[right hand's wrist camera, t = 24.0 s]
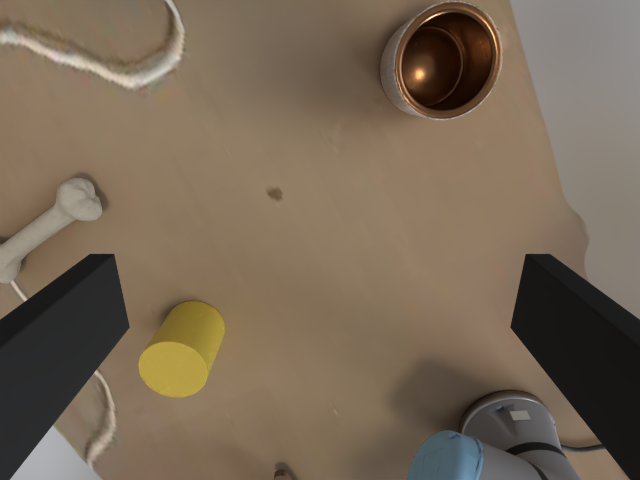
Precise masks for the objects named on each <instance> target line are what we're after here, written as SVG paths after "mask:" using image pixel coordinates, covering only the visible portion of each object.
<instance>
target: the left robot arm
mask: <svg viewBox="0 0 640 480" xmlns="http://www.w3.org/2000/svg"><path fill="white" fill-rule="evenodd" d="M602 449H606V448H605V447H604V446H603V444H601V445H596V446H590V447H583V448H573V447H568V446H564V445H560V442H559V439H558V436H557V433H556V427H555V423H554V419H553V416H552V415H551V413H550V412H549V410H548V409H547V407H546V406H545V405H544V403H543V402H542V401H541V400H540V399H538V398H537V397H535V396H534V395H532V394H529V393H526V392H522V391H501V392H496V393H493V394H490V395H487V396H485V397H483V398H481V399H480V400H478V401H477V402H475V403H474V404H473V405H472V406H470V407H469V409H468V410H467V411H466V412H465V414H464V415H463V417H462V419H461V422H460V426H459V433H458V432H455V431H451V430H443V431H439V432H437V433H435V434H433V435H432V436H430V437H429V438H428V439H427V440H426V441H425V442H424V443H423V444H422V445H421V447H420V448H419V450H418V452H417V454H416V455H415V457H414V459H413V461H412V464H411V466H410V470H409V473H408V477H407V480H581V478H580V477H579V475H578V474H577V472H576V471H575V469H574V468H573V466H572V465H571V463H570V462H569V461H568V459H567V458H566V456H565V455H564V453H563V451H562V450H566V451H570V452H591V451H596V450H602Z"/></svg>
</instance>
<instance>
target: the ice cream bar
mask: <svg viewBox="0 0 640 480" xmlns="http://www.w3.org/2000/svg"><path fill="white" fill-rule="evenodd" d="M274 480H292V478H291V477H290V476H289V474H288V473H287V472H286V471H285V470H277V471H276V472H275V476H274Z"/></svg>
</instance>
